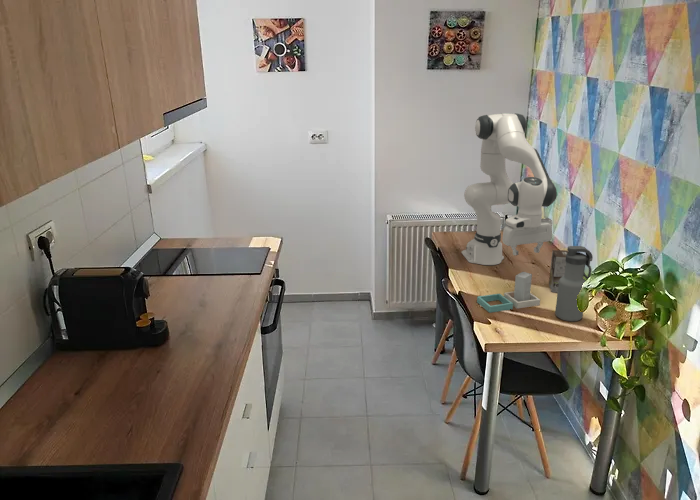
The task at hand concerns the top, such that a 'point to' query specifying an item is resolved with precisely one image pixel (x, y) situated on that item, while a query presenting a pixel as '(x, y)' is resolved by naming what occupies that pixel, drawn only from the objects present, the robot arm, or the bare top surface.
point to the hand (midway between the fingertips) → (526, 253)
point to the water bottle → (572, 283)
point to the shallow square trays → (506, 302)
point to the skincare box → (522, 286)
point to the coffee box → (557, 268)
